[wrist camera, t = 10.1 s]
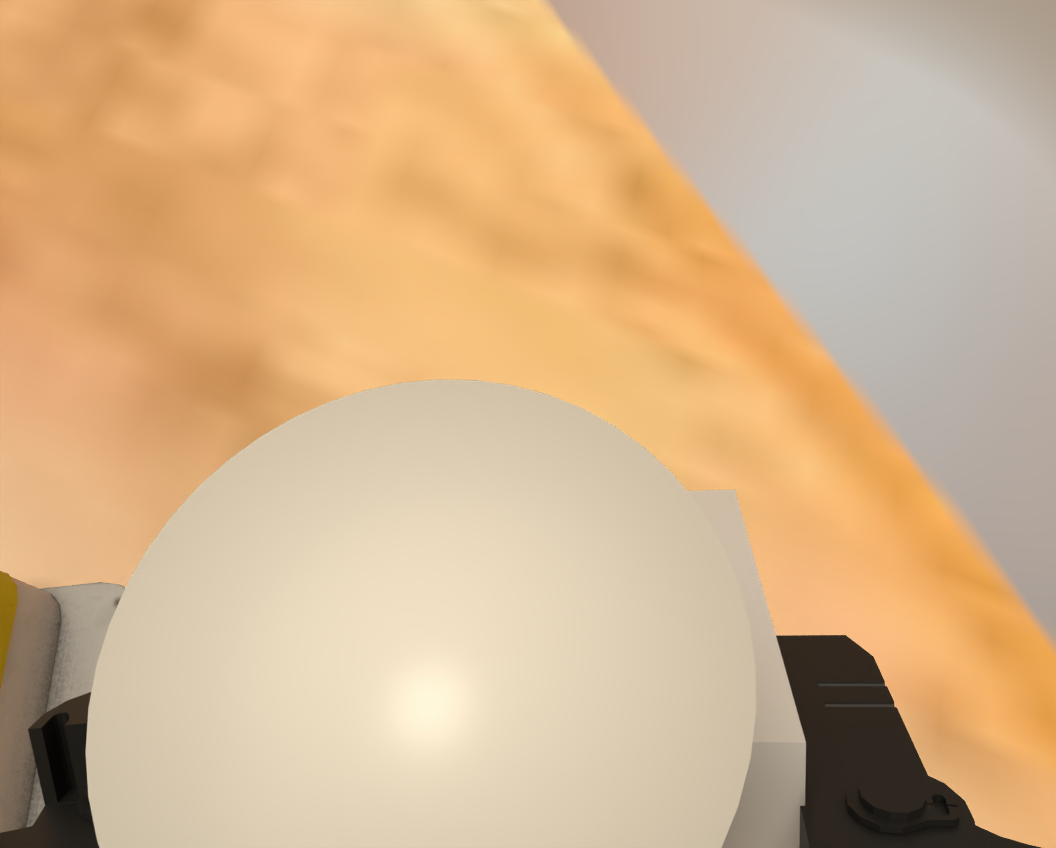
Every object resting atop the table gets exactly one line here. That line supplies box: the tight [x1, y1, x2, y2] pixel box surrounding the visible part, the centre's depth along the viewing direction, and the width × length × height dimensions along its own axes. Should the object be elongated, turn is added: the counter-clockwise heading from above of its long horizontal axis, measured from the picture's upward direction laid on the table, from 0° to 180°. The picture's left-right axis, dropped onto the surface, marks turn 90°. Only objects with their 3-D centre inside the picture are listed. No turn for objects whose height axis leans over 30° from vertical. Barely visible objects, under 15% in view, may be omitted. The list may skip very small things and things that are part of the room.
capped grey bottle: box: [86, 379, 756, 848], centre depth 11 cm, size 4×4×12 cm
